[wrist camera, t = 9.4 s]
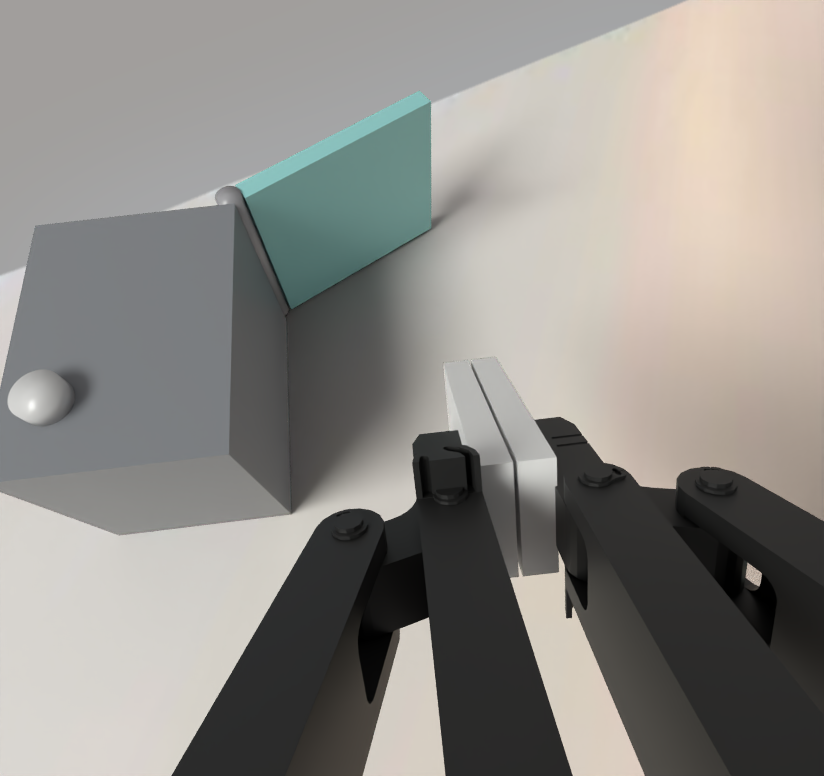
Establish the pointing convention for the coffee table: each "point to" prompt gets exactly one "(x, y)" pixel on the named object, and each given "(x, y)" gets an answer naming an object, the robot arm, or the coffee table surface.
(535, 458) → the robot arm
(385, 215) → the side door
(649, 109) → the coffee table surface
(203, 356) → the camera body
